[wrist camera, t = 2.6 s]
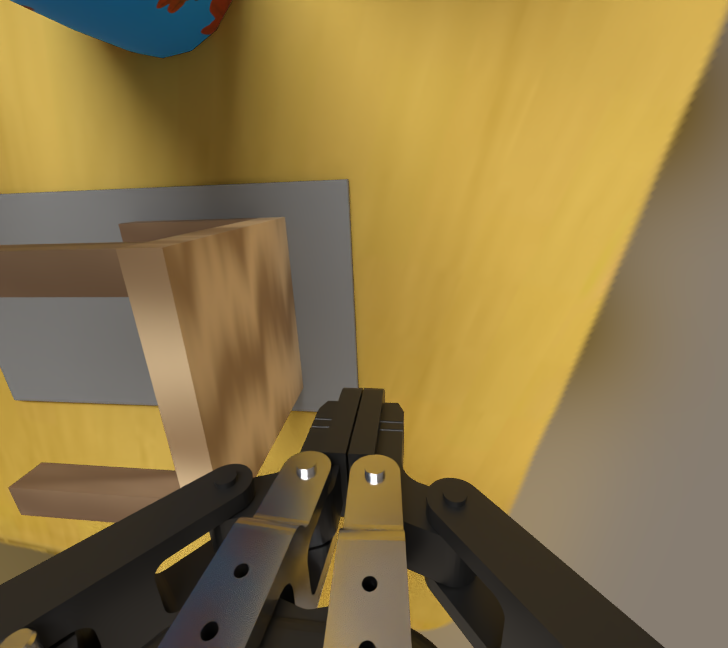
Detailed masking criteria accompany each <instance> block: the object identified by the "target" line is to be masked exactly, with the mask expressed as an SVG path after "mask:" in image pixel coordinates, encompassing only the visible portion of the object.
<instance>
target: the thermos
mask: <svg viewBox="0 0 728 648" xmlns="http://www.w3.org/2000/svg"><path fill="white" fill-rule="evenodd" d="M10 1H13V2H15V3H17V4H19V5H21V6H23V7H26V8H28V9H30V10H32V11H34V12H36V13H39V14H41V15H43V16H45V17H47V18H49V19H52V20H54V21H56V22H58V23H60V24H62V25H65V26H67V27H69V28H71V29H73V30H76V31H78V32H81V33H84V34H86V35H89V36H91V37H94V38H97V39H99V40H102V41H104V42H107V43H110V44H112V45H115V46H117V47H120V48H123V49H125V50H128V51H130V52H134V53H139V54H144V55H149V56H154V57H160V58H165V57H169V56H173V55H177V54H181V53H184V52H188V51H192V50H193V49H194V48H195V47H197V46H198V45H199V44H200V43H201V42H203V41H204V40H205V39H206V38H207V37H209V36H210V35H211V34H212V33H213V32H215V31H216V30H217V28H218V26H219V24H220V22H221V20H222V19H223V17H224V15H225V13H226V11H227V9H228V7H229V6H230V4H231V2H232V0H10Z"/></svg>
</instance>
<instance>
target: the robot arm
mask: <svg viewBox="0 0 728 648" xmlns="http://www.w3.org/2000/svg"><path fill="white" fill-rule="evenodd" d="M403 455H404V411H403V410H402V408H401V407H400V405H399V404H398V403H385V390H384V389H374V388H364V390H363V388H343V389H342V391H341V394H340V397H339V400H338V401H327V402H326V403H325V404H324V405H323V406H321V407H320V408H319V410H318V412H317V414H316V417H315V420H314V421H313V424H312V427H311V428H310V431H309V433H308V435H307V438H306V440H305V442H304V445H303V447H302V449H301V452H300V453H298V454H295V455H293V456H292V457H290V458H289V459H288V460H287V461H286V462H285V463H284V465H283V467H282V468H281V470H280V472H277V473H274V474H269V475H264V476H258V477H253V474H252V471H251V469H250V468H249V467H247V466H245V465H242V464H228V465H224V466H221V467H219V468H217V469H215V470H213V471H211V472H209V473H207V474H205V475H204V476H202V477H200V478H198V479H196V480H194V481H192V482H191V483H189V484H187V485H185V486H183V487H181V488H179V489H178V490H176V491H174V492H172V493H170V494H168V495H166V496H165V497H163V498H161V499H159V500H157V501H155V502H153V503H152V504H150V505H148V506H146V507H144V508H142V509H140V510H139V511H137V512H135V513H133V514H131V515H129V516H127V517H126V518H124V519H122V520H120V521H118V522H116V523H114V524H113V525H111V526H109V527H107V528H105V529H103V530H101V531H100V532H98V533H96V534H94V535H92V536H90V537H88V538H87V539H85V540H83V541H81V542H79V543H77V544H75V545H74V546H72V547H70V548H68V549H66V550H64V551H62V552H61V553H59V554H57V555H55V556H53V557H51V558H50V559H48V560H46V561H44V562H42V563H40V564H39V565H37V566H35V567H33V568H31V569H29V570H27V571H26V572H24V573H22V574H20V575H18V576H16V577H14V578H12V579H11V580H9V581H7V582H5V583H3V584H1V585H0V648H437V647H436V646H435V645H434V644H433V643H432V642H431V641H429V640H428V639H427V638H425V637H424V636H423V635H422V634H420V633H418V632H417V631H415V630H413V629H412V628H411V627H410V611H409V594H408V577H407V569H409V570H412V571H414V572H416V573H418V574H421V575H423V576H424V577H425V581H426V584H427V586H428V587H429V589H430V590H431V592H432V593H433V594H434V596H435V597H436V598H437V600H438V601H439V602H440V604H441V605H442V606H443V608H444V609H445V610H446V612H447V613H448V614H449V616H450V617H451V618H452V619H453V621H454V622H455V623H456V625H457V626H458V627H459V629H460V630H461V631H462V633H463V634H464V635H465V637H466V638H467V639H468V640H469V642H470V643H471V644H472V646H473V647H474V648H664V647H663V646H662V645H661V644H660V643H658V642H657V641H656V640H655V639H654V638H653V637H651V636H650V635H649V634H648V633H647V632H646V631H644V630H643V629H642V628H641V627H639V626H638V625H637V624H636V623H635V622H634V621H633V620H631V619H630V618H629V617H628V616H627V615H625V614H624V613H623V612H622V611H621V610H620V609H618V608H617V607H616V606H615V605H614V604H612V603H611V602H610V601H609V600H608V599H606V598H605V597H604V596H603V595H602V594H601V593H599V592H598V591H597V590H596V589H595V588H593V587H592V586H591V585H590V584H589V583H588V582H586V581H585V580H584V579H583V578H582V577H580V576H579V575H578V574H577V573H576V572H575V571H573V570H572V569H571V568H570V567H569V566H567V565H566V564H565V563H564V562H563V561H562V560H560V559H559V558H558V557H557V556H556V555H554V554H553V553H552V552H551V551H550V550H548V549H547V548H546V547H545V546H544V545H543V544H541V543H540V542H539V541H538V540H537V539H536V538H534V537H533V536H532V535H531V534H530V533H528V532H527V531H526V530H525V529H524V528H522V527H521V526H520V525H519V524H518V523H517V522H515V521H514V520H513V519H512V518H511V517H510V516H508V515H507V514H506V513H505V512H504V511H502V510H501V509H500V508H499V507H498V506H496V505H495V504H494V503H493V502H492V501H491V500H489V499H488V498H487V497H486V496H485V495H483V494H482V493H481V492H480V491H479V490H478V489H476V488H475V487H474V486H473V485H471V484H470V483H468V482H466V481H463V480H460V479H456V478H443V479H439V480H437V481H435V482H434V483H432V484H431V485H430V486H427V485H424V484H421V483H418V482H416V481H415V480H413V479H411V478H410V477H409V476H408V475H407V474H406V473H405V471H404V470H403ZM340 517H344V525H343V528H340V530H339V534H338V540H337V528H338V524H339V520H340ZM207 532H209V533H210V537H211V540H210V541H208V542H207V543H205V544H204V545H202V546H201V547H199V548H198V549H196V550H195V551H193V552H192V553H190V554H189V555H187V556H186V557H184V558H183V559H181V560H180V561H178V562H177V563H175V564H174V565H172V566H171V567H169V568H168V569H166V570H164V571H163V572H161V573H158V574H155V572H156V570H157V568H158V567H159V566H160V564H161V563H162V562H163V561H165V560H166V559H167V558H169V557H170V556H172V555H173V554H175V553H176V552H178V551H179V550H181V549H183V548H184V547H186V546H187V545H189V544H190V543H192V542H193V541H195V540H197V539H198V538H200V537H201V536H203V535H204V534H206V533H207ZM336 542H337V548H336V556H335V563H334V571H333V578H332V586H331V593H330V601H329V606H328V607H322V608H317V606H318V602H319V599H320V595H321V592H322V589H323V585H324V582H325V579H326V576H327V572H328V569H329V566H330V562H331V559H332V556H333V552H334V549H335V546H336Z"/></svg>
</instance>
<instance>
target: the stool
mask: <svg viewBox="0 0 728 648" xmlns="http://www.w3.org/2000/svg"><path fill="white" fill-rule="evenodd" d="M118 225H119V229H120V233H121V237H122V240H123V242H109V243H65V244H21V245H0V297H129V300H130V303H131V307H132V311H133V315H134V318H135V322H136V326H137V329H138V333H139V337H140V340H141V344H142V348H143V352H144V355H145V359H146V363H147V366H148V370H149V374H150V377H151V381H152V385H153V389H154V392H155V396H156V400H157V403H158V407H159V411H160V414H161V418H162V422H163V425H164V429H165V433H166V437H167V440H168V444H169V448H170V451H171V455H172V459H173V462H174V466H175V470H176V471H172V470H155V469H139V468H123V467H107V466H91V465H75V464H59V463H40V464H39V465H38V466H36V467H35V468H34V469H32V470H31V471H30V472H28V473H27V474H26V475H24V476H23V477H22V478H20V479H19V480H18V481H16V482H15V483H14V484H12V485H11V486H10V487H8V488H9V490H10V492H11V495H12V497H13V499H14V501H15V503H16V505H17V507H18V509H19V511H20V513H21V515H30V516H42V517H54V518H66V519H78V520H90V521H102V522H114V523H116V522H118V521H120V520H122V519H124V518H126V517H127V516H129V515H131V514H133V513H135V512H137V511H139V510H140V509H142V508H144V507H146V506H148V505H150V504H152V503H153V502H155V501H157V500H159V499H161V498H163V497H165V496H166V495H168V494H170V493H172V492H174V491H176V490H178V489H179V488H181V487H183V486H185V485H187V484H189V483H191V482H192V481H194V480H196V479H198V478H200V477H202V476H204V475H205V474H207V473H209V472H211V471H213V470H215V469H217V468H219V467H221V466H224V465H228V464H242V465H245V466H247V467H249V468H250V469H251V471H252V474H253V477H256V476H257V474H258V472H259V470H260V468H261V466H262V464H263V462H264V461H265V459H266V457H267V455H268V453H269V451H270V449H271V447H272V446H273V444H274V442H275V440H276V438H277V436H278V434H279V432H280V431H281V429H282V427H283V425H284V423H285V421H286V419H287V418H288V416H289V414H290V412H291V410H292V408H293V406H294V404H295V403H296V401H297V399H298V397H299V395H300V393H301V391H302V389H303V380H302V370H301V361H300V352H299V342H298V333H297V324H296V315H295V305H294V296H293V287H292V278H291V268H290V259H289V250H288V241H287V231H286V222H285V217H269V218H236V219H203V220H170V221H136V222H129V223H121V224H118Z"/></svg>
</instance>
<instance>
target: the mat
mask: <svg viewBox="0 0 728 648" xmlns="http://www.w3.org/2000/svg"><path fill="white" fill-rule="evenodd" d="M269 217H285V222H286V231H287V241H288V250H289V259H290V268H291V278H292V287H293V296H294V305H295V315H296V324H297V333H298V342H299V352H300V361H301V370H302V380H303V389H302V391H301V393H300V395H299V397H298V399H297V401H296V403H295V404H294V406H293V408H292V410H291V411H315V412H318V410H319V408H320V407H321V406H323V405H324V404H325V403H326V402H327V401H338V400H339V397H340V394H341V391H342V389H343V388H358V368H357V347H356V326H355V306H354V285H353V264H352V244H351V223H350V202H349V181H348V179H345V180H322V181H298V182H275V183H251V184H228V185H204V186H181V187H157V188H134V189H110V190H87V191H63V192H40V193H16V194H0V245H21V244H65V243H109V242H123V240H122V237H121V233H120V229H119V225H118V224H121V223H129V222H136V221H170V220H203V219H236V218H269ZM0 367H1V370H2V372H3V374H4V377H5V379H6V382H7V384H8V386H9V389H10V391H11V393H12V396H13V398H14V400H27V401H53V402H79V403H105V404H131V405H158V403H157V400H156V396H155V392H154V389H153V385H152V381H151V377H150V374H149V370H148V366H147V363H146V359H145V355H144V352H143V348H142V344H141V340H140V337H139V333H138V329H137V326H136V322H135V318H134V315H133V311H132V307H131V303H130V300H129V297H0Z"/></svg>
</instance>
